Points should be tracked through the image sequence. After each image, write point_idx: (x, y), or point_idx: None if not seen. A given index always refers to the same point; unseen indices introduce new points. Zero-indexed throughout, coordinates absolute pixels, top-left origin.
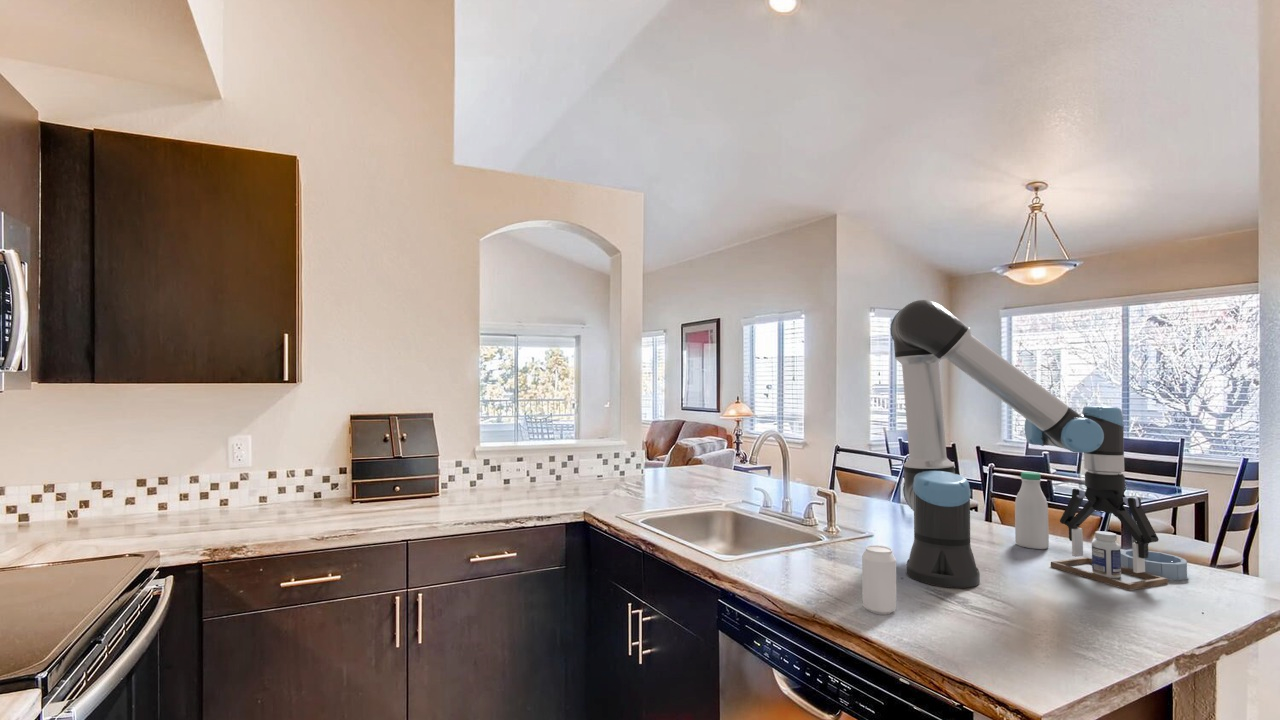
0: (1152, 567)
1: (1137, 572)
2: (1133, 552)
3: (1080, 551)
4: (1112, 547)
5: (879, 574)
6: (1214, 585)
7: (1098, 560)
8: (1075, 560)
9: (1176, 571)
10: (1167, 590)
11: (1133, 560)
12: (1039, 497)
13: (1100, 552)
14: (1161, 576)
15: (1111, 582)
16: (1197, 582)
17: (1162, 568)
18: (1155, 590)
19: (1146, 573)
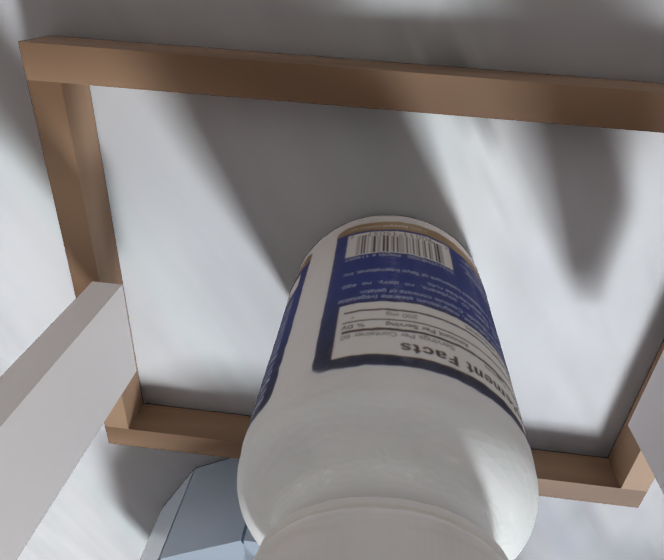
0: (209, 515)
1: (89, 288)
2: (3, 413)
3: (659, 430)
4: (254, 441)
5: None
6: (67, 549)
7: (397, 277)
8: None
9: (143, 552)
10: (20, 298)
11: (62, 350)
12: None
13: (373, 335)
14: (190, 483)
15: (190, 50)
16: (118, 541)
17: (170, 531)
18: (27, 230)
19: (219, 446)
